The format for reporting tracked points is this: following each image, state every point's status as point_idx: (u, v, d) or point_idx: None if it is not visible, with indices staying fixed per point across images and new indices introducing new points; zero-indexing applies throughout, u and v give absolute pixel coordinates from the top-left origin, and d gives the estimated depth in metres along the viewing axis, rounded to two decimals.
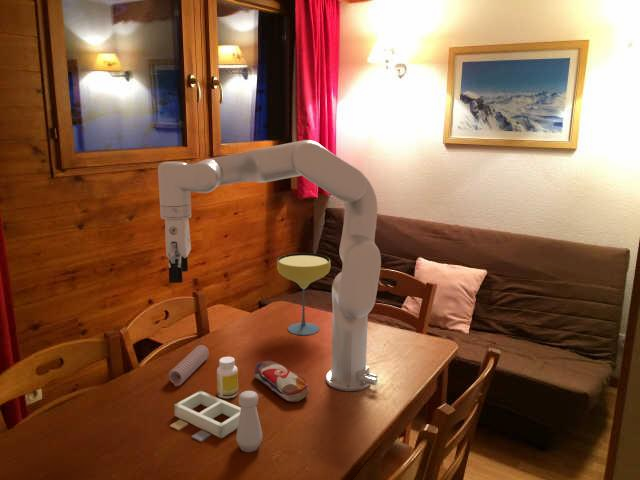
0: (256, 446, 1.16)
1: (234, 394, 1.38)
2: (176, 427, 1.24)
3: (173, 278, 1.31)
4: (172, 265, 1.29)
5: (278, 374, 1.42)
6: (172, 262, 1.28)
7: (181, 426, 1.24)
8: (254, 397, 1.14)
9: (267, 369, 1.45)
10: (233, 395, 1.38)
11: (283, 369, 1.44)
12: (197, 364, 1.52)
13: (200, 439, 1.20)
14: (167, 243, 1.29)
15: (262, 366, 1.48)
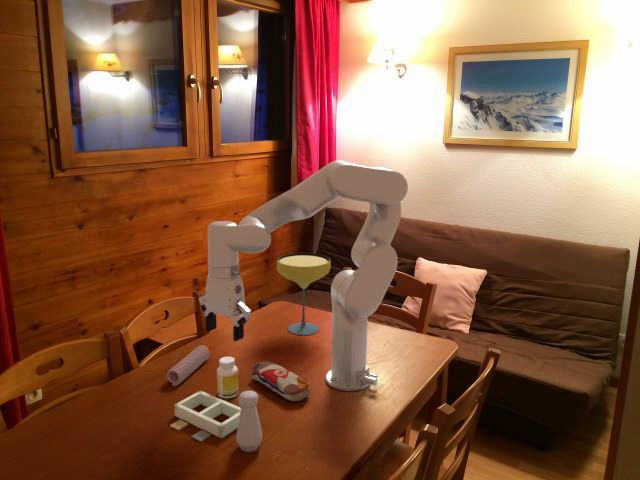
0: (256, 446, 1.16)
1: (234, 394, 1.38)
2: (176, 427, 1.24)
3: (240, 335, 1.32)
4: (242, 323, 1.31)
5: (278, 374, 1.41)
6: (246, 320, 1.31)
7: (181, 426, 1.24)
8: (254, 397, 1.14)
9: (266, 370, 1.45)
10: (233, 395, 1.38)
11: (282, 369, 1.44)
12: (196, 364, 1.52)
13: (200, 439, 1.20)
14: (233, 303, 1.30)
15: (260, 367, 1.47)
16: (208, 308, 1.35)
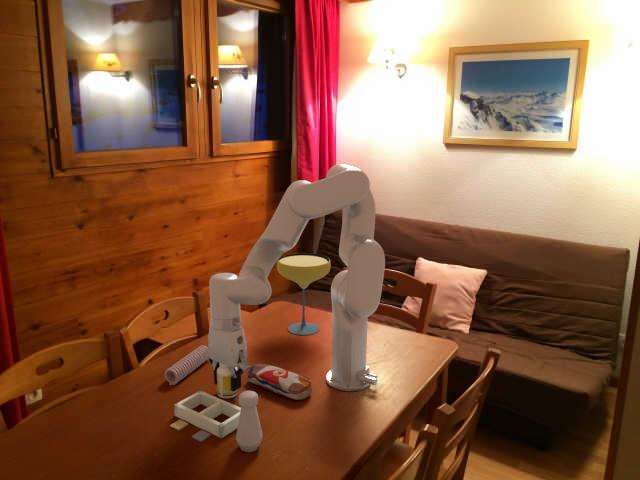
0: (256, 446, 1.16)
1: (234, 394, 1.38)
2: (176, 427, 1.24)
3: (237, 386, 1.37)
4: (240, 374, 1.35)
5: (277, 375, 1.41)
6: (242, 372, 1.35)
7: (181, 426, 1.24)
8: (254, 397, 1.14)
9: (263, 372, 1.44)
10: (233, 395, 1.38)
11: (280, 369, 1.44)
12: (195, 364, 1.52)
13: (200, 439, 1.20)
14: (236, 354, 1.33)
15: (255, 370, 1.46)
16: (211, 357, 1.38)
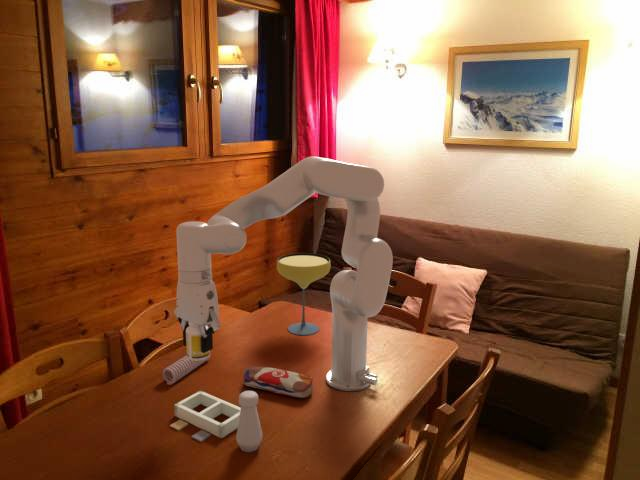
0: (256, 446, 1.16)
1: (205, 356, 1.26)
2: (176, 427, 1.24)
3: (208, 347, 1.24)
4: (210, 333, 1.23)
5: (278, 375, 1.41)
6: (213, 331, 1.22)
7: (181, 426, 1.24)
8: (254, 397, 1.14)
9: (262, 374, 1.42)
10: (203, 357, 1.25)
11: (277, 370, 1.43)
12: (194, 364, 1.52)
13: (200, 439, 1.20)
14: (205, 310, 1.21)
15: (252, 373, 1.44)
16: (179, 315, 1.26)
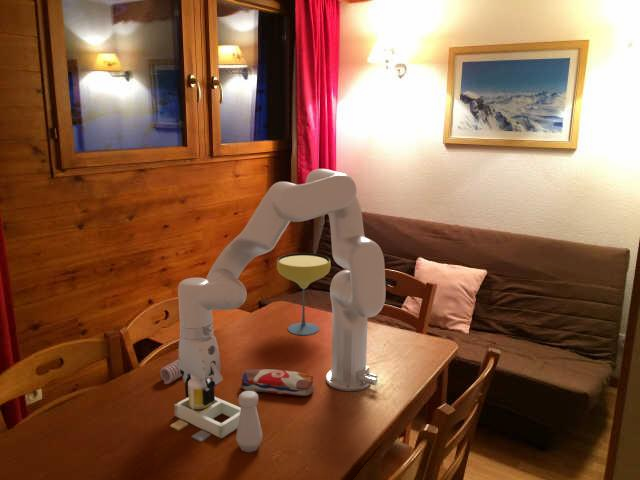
0: (256, 446, 1.16)
1: None
2: (176, 427, 1.24)
3: (210, 399, 1.27)
4: (212, 387, 1.26)
5: (278, 376, 1.40)
6: (215, 384, 1.25)
7: (181, 426, 1.24)
8: (254, 397, 1.14)
9: (261, 376, 1.41)
10: None
11: (276, 370, 1.43)
12: None
13: (200, 439, 1.20)
14: (207, 365, 1.23)
15: (250, 376, 1.42)
16: (182, 368, 1.28)
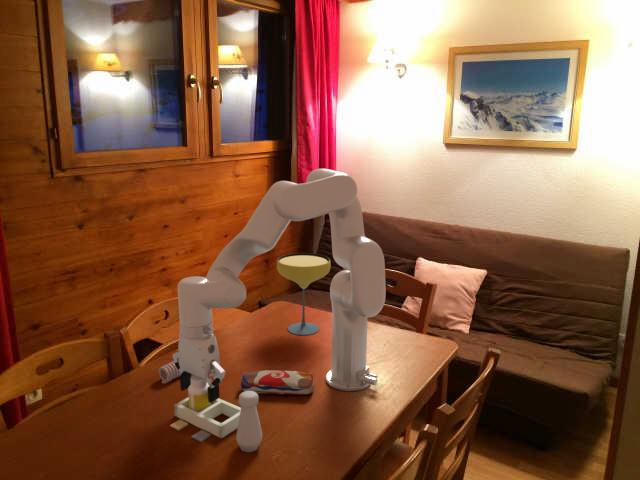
0: (256, 446, 1.16)
1: None
2: (176, 427, 1.24)
3: (215, 397, 1.26)
4: (217, 384, 1.24)
5: (278, 376, 1.40)
6: (220, 381, 1.24)
7: (181, 426, 1.24)
8: (254, 397, 1.14)
9: (261, 378, 1.40)
10: None
11: (275, 371, 1.43)
12: None
13: (200, 439, 1.20)
14: (207, 364, 1.23)
15: (249, 378, 1.41)
16: (181, 367, 1.28)
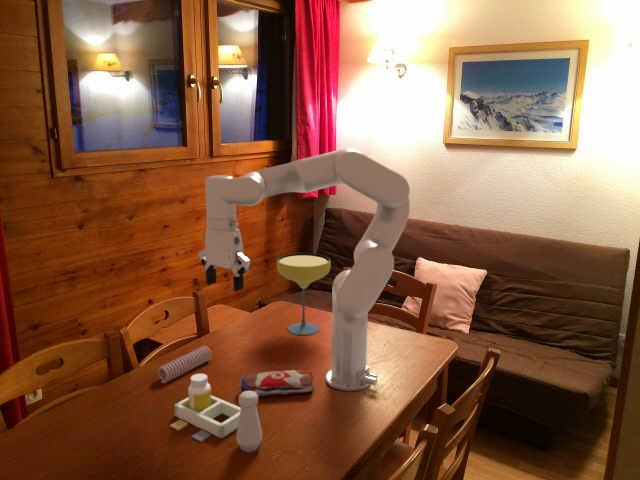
0: (256, 446, 1.16)
1: None
2: (176, 427, 1.24)
3: (240, 286, 1.37)
4: (242, 273, 1.36)
5: (279, 377, 1.40)
6: (245, 269, 1.35)
7: (181, 426, 1.24)
8: (254, 397, 1.14)
9: (262, 380, 1.39)
10: None
11: (273, 372, 1.42)
12: (192, 364, 1.52)
13: (200, 439, 1.20)
14: (233, 254, 1.34)
15: (249, 382, 1.39)
16: (208, 261, 1.39)
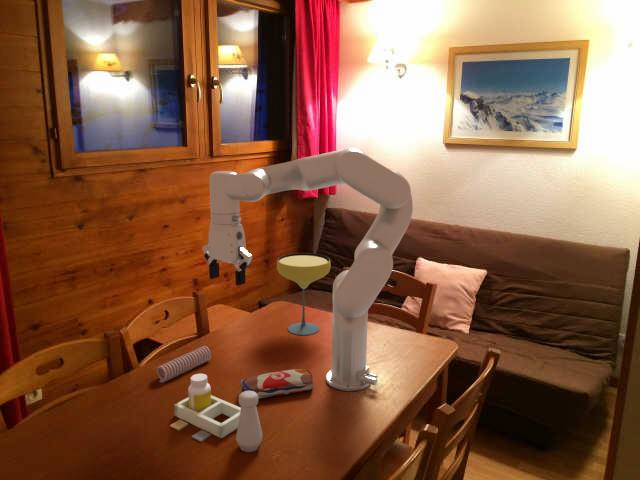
0: (256, 446, 1.16)
1: None
2: (176, 427, 1.24)
3: (242, 280, 1.39)
4: (244, 268, 1.37)
5: (280, 377, 1.40)
6: (247, 264, 1.37)
7: (181, 426, 1.24)
8: (254, 397, 1.14)
9: (263, 382, 1.38)
10: None
11: (273, 373, 1.42)
12: (191, 364, 1.52)
13: (200, 439, 1.20)
14: (235, 248, 1.36)
15: (251, 385, 1.37)
16: (211, 255, 1.41)
